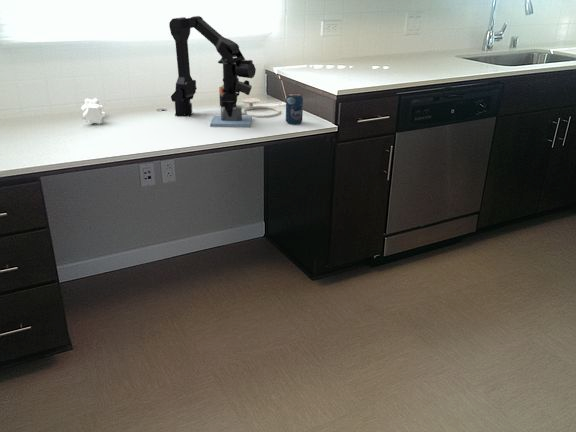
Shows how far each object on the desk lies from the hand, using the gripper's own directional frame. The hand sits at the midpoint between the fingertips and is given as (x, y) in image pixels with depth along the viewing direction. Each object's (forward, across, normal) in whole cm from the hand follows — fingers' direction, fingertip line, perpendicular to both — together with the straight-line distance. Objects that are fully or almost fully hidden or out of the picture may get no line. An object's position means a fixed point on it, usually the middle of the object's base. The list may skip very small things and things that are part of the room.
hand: (231, 113), depth 226 cm
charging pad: (+4, 0, 0) cm, 4 cm away
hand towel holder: (+4, +19, -11) cm, 22 cm away
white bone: (+4, 0, +57) cm, 57 cm away
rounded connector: (+2, 0, 0) cm, 3 cm away
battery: (+4, +27, +4) cm, 28 cm away
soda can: (+4, +1, -26) cm, 26 cm away
